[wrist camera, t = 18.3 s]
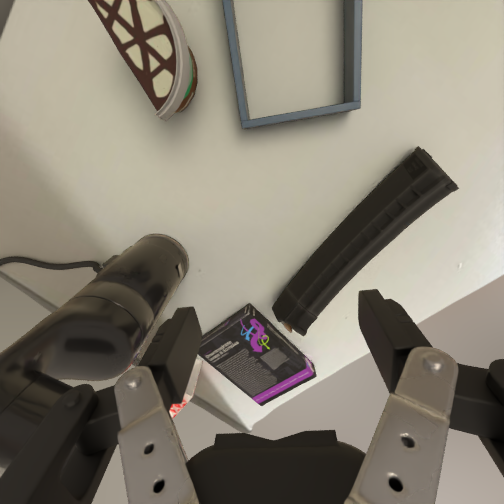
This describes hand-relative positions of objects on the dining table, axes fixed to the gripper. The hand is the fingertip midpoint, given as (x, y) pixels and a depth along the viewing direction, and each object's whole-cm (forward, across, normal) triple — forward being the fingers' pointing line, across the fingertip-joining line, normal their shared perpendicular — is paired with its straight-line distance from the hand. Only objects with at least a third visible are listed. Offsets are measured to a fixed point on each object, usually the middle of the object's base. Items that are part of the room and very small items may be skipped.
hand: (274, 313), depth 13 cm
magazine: (+28, -10, +8) cm, 31 cm away
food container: (+28, +9, -18) cm, 34 cm away
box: (+28, +7, +31) cm, 42 cm away
